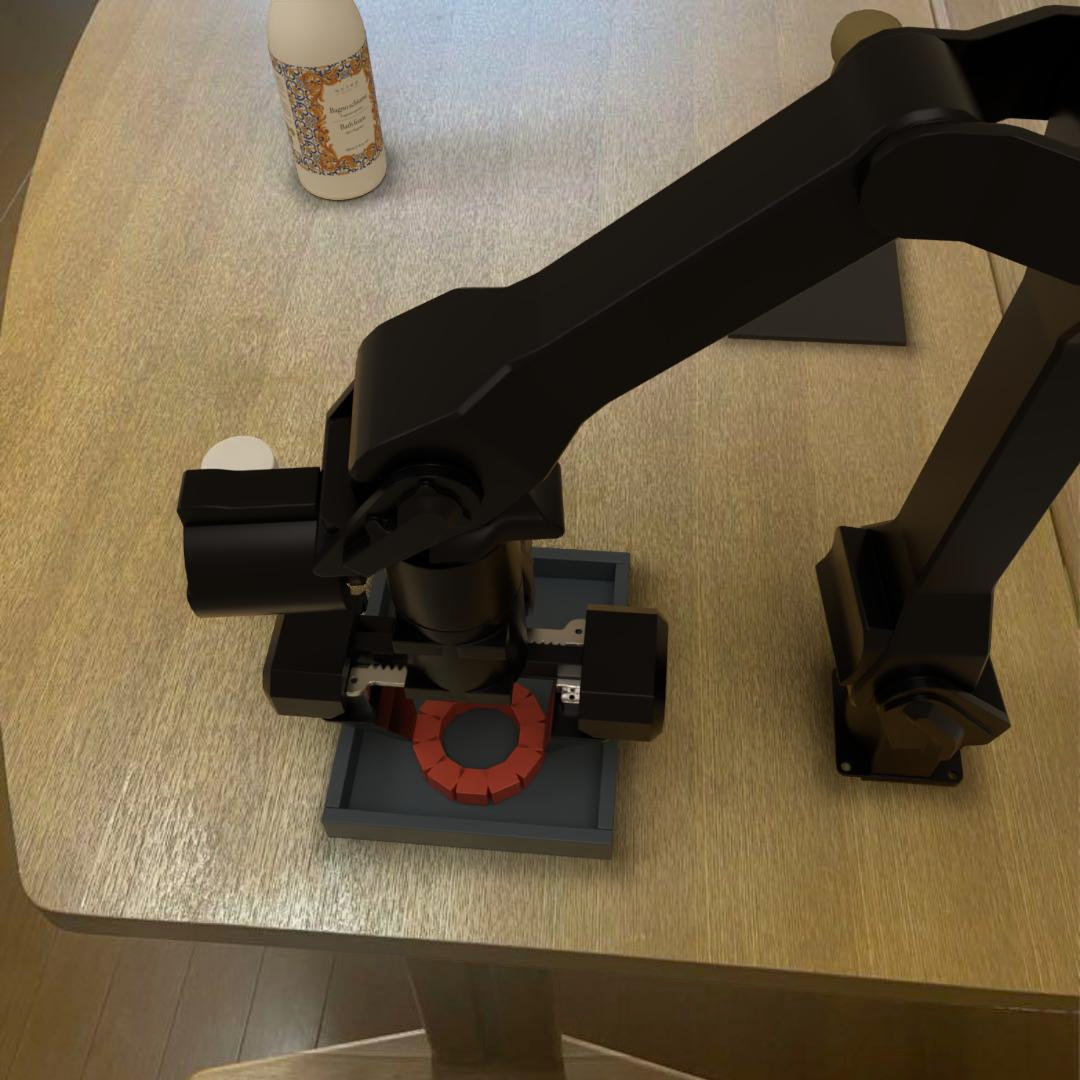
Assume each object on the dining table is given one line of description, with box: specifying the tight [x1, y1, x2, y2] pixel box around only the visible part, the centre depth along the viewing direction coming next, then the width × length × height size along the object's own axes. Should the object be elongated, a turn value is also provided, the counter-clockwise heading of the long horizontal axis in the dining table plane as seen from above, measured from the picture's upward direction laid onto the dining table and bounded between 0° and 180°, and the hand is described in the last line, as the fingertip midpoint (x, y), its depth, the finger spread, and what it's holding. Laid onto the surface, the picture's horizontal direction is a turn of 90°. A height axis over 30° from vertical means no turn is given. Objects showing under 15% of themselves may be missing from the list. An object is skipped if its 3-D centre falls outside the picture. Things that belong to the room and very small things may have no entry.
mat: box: [727, 239, 908, 347], centre depth 85 cm, size 12×12×1 cm
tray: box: [320, 546, 631, 861], centre depth 65 cm, size 18×15×2 cm
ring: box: [412, 683, 546, 805], centre depth 63 cm, size 7×7×1 cm
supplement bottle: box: [200, 435, 287, 470], centre depth 68 cm, size 5×5×10 cm
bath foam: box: [265, 0, 387, 201], centre depth 85 cm, size 7×7×20 cm
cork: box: [829, 8, 904, 77], centre depth 89 cm, size 6×6×11 cm
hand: (481, 738), depth 63 cm, fingers closed on ring, 7 cm apart
